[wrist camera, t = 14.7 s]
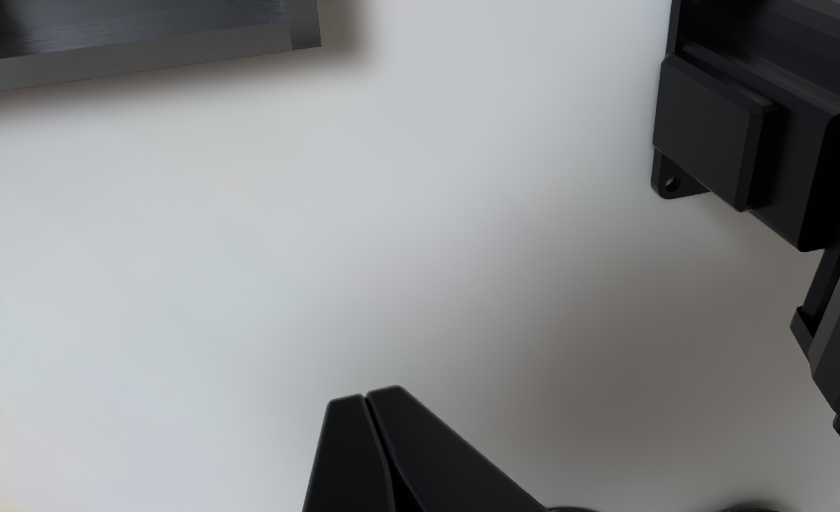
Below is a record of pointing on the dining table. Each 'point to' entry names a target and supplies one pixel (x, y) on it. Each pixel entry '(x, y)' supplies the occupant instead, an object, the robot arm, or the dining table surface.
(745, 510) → the milk frother
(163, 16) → the grey compartment tray
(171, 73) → the dining table surface
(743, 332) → the dining table surface
